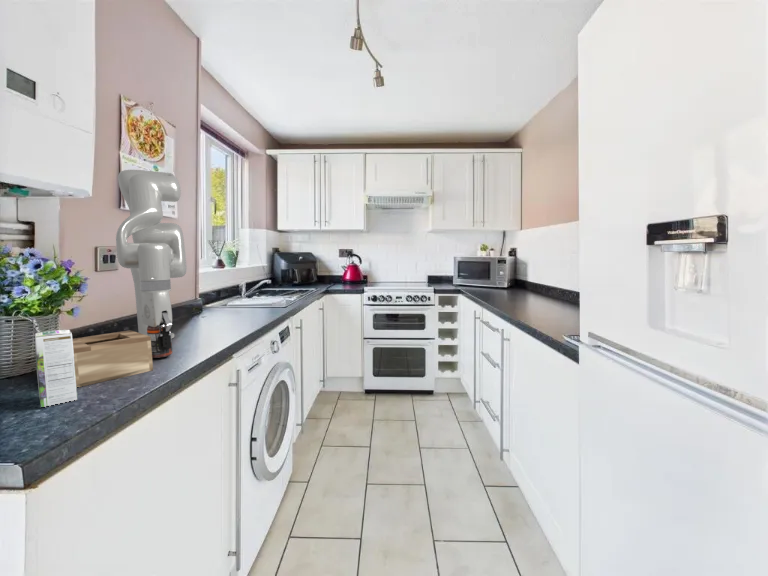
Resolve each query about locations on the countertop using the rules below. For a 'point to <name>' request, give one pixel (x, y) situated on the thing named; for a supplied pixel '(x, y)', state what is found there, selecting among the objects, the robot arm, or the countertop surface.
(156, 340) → the supplement bottle
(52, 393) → the syrup box
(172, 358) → the countertop surface
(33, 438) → the countertop surface
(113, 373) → the drop box
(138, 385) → the countertop surface
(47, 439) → the countertop surface
